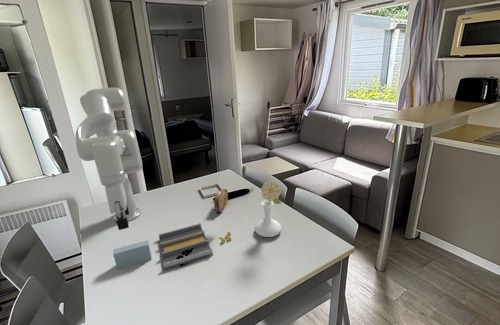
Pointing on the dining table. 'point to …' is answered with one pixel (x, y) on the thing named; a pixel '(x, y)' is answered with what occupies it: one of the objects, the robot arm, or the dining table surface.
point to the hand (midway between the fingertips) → (124, 221)
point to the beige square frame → (209, 187)
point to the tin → (221, 200)
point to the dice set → (226, 237)
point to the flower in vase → (269, 225)
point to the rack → (184, 246)
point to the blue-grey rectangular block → (132, 254)
